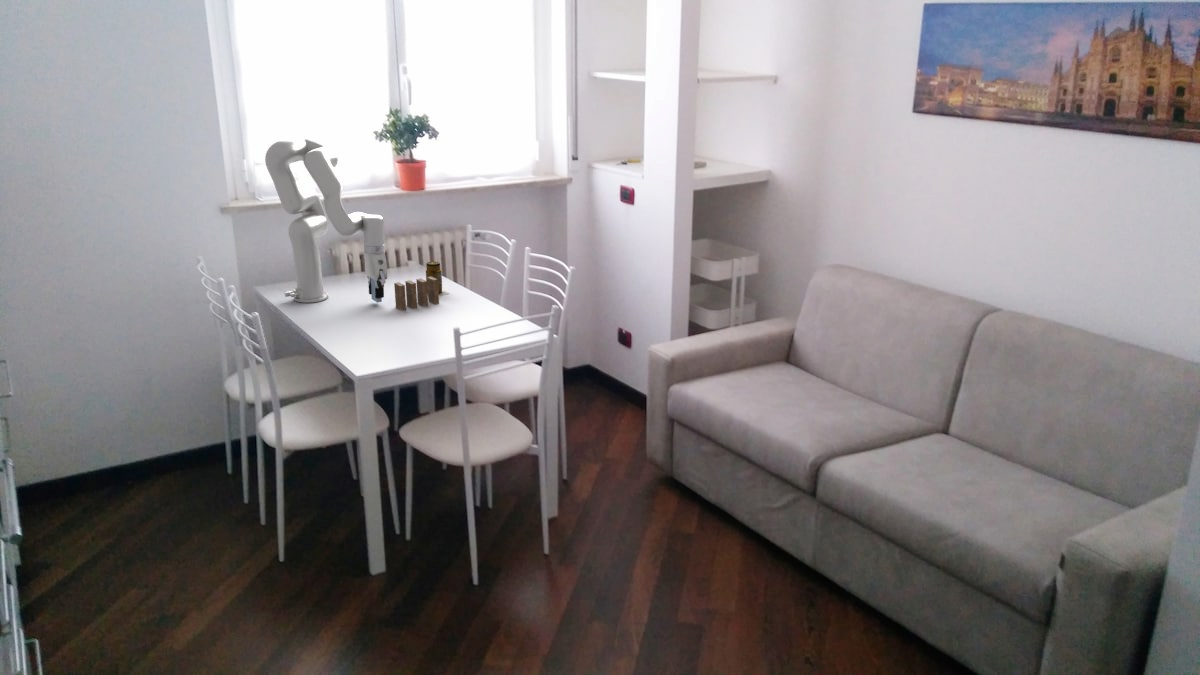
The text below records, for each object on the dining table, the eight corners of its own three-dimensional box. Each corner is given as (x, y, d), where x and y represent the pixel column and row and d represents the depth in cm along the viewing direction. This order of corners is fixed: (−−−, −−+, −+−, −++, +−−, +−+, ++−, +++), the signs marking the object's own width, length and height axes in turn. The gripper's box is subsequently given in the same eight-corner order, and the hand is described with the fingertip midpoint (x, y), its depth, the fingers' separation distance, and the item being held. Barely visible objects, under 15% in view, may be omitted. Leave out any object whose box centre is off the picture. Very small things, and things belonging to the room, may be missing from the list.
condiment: (438, 289, 365) (436, 259, 361) (449, 293, 359) (447, 264, 355) (421, 292, 361) (420, 262, 357) (432, 297, 355) (430, 267, 351)
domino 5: (434, 304, 346) (433, 280, 343) (428, 301, 349) (427, 277, 346) (439, 303, 347) (437, 279, 344) (432, 300, 350) (431, 276, 347)
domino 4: (423, 306, 343) (422, 282, 340) (417, 303, 347) (416, 279, 344) (428, 305, 344) (426, 281, 341) (422, 302, 348) (420, 278, 345)
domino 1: (377, 302, 343) (376, 278, 340) (371, 298, 347) (370, 274, 343) (381, 301, 344) (380, 277, 341) (376, 298, 348) (375, 274, 344)
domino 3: (413, 308, 341) (411, 284, 337) (406, 305, 344) (405, 281, 341) (417, 307, 342) (415, 283, 338) (411, 304, 345) (409, 280, 342)
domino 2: (401, 310, 338) (400, 285, 335) (395, 307, 342) (394, 282, 339) (406, 309, 339) (404, 285, 336) (400, 306, 343) (398, 282, 340)
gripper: (394, 252, 334) (395, 300, 341) (374, 242, 347) (376, 288, 353) (374, 255, 330) (376, 303, 336) (355, 244, 343) (357, 291, 349)
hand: (376, 295), depth 345 cm, fingers closed on domino 1, 4 cm apart
